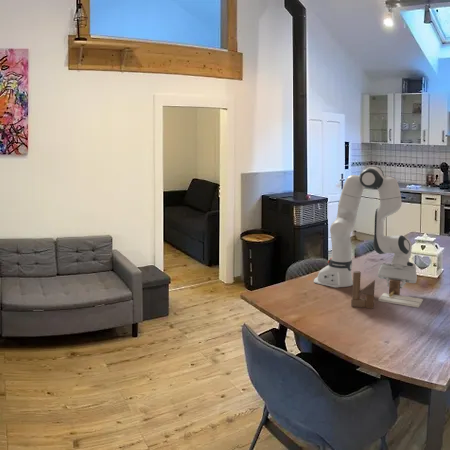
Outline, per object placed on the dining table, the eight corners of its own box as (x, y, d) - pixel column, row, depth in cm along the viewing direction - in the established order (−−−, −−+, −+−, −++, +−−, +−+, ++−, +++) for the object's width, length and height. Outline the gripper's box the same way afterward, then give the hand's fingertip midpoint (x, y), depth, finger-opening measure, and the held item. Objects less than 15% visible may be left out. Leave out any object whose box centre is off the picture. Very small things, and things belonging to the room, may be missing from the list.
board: (378, 301, 269) (378, 298, 269) (383, 295, 278) (383, 292, 278) (418, 307, 259) (418, 305, 259) (422, 301, 268) (422, 298, 268)
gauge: (385, 299, 271) (385, 284, 270) (390, 293, 281) (391, 279, 279) (394, 300, 269) (395, 286, 267) (399, 294, 278) (400, 280, 277)
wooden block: (372, 309, 257) (374, 274, 254) (351, 306, 262) (352, 272, 258) (373, 306, 261) (375, 272, 257) (352, 304, 265) (353, 270, 262)
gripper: (379, 259, 286) (374, 281, 280) (418, 264, 276) (413, 287, 269) (381, 265, 291) (375, 286, 284) (419, 270, 280) (414, 292, 274)
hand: (394, 287), depth 277 cm, fingers closed on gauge, 5 cm apart
